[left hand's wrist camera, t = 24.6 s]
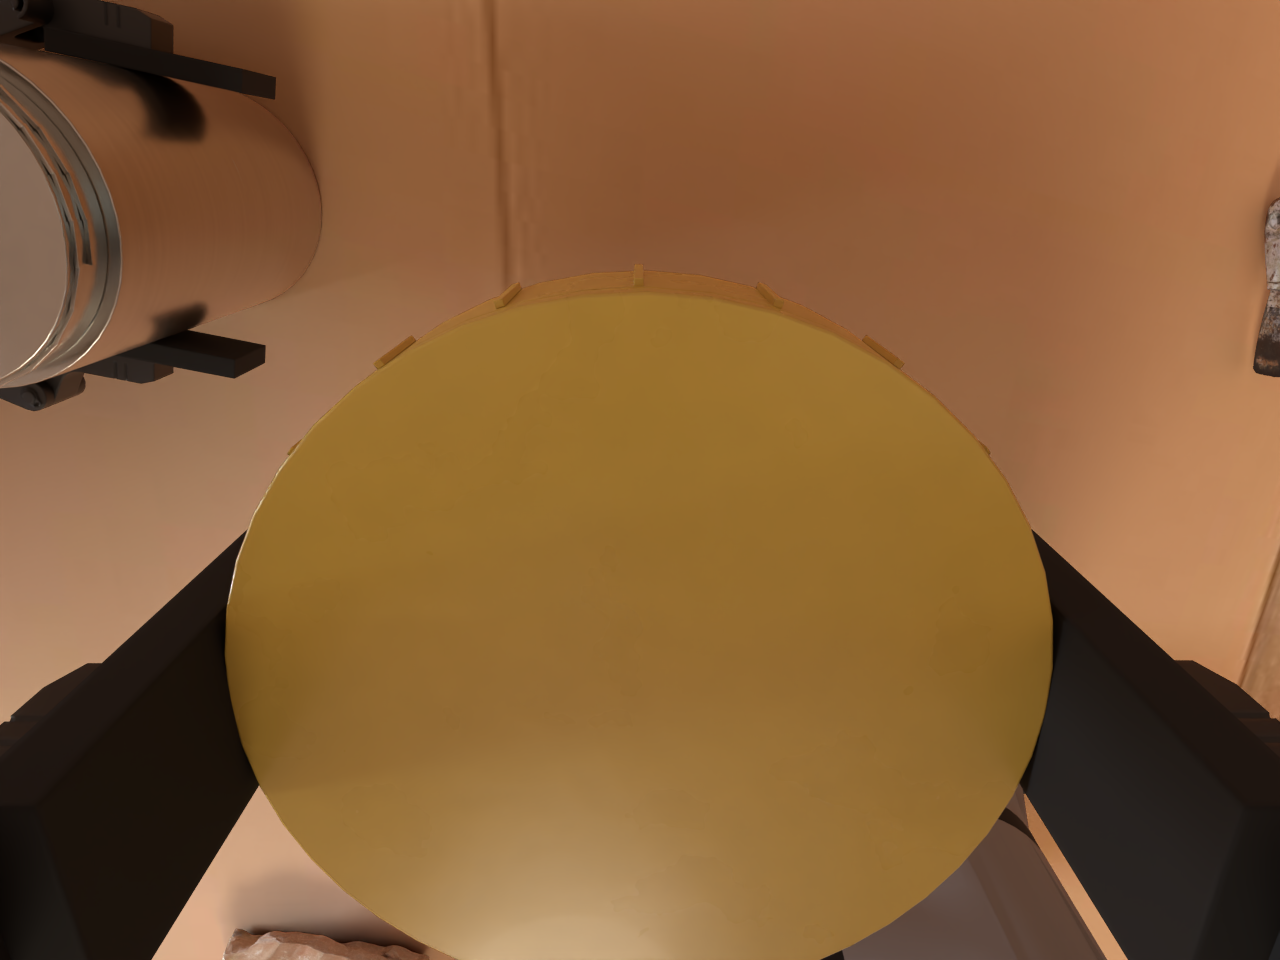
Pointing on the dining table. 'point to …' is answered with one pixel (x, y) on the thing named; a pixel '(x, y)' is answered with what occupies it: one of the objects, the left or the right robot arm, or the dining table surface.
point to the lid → (639, 630)
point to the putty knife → (1271, 299)
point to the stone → (308, 948)
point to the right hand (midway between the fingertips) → (254, 231)
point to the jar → (136, 210)
